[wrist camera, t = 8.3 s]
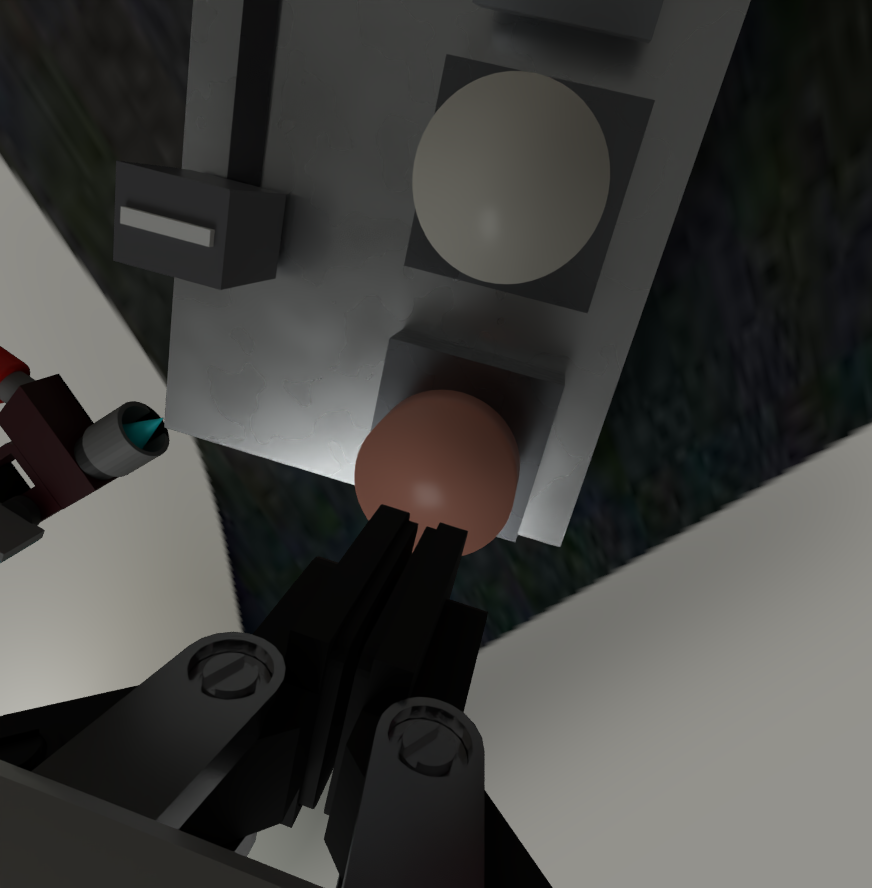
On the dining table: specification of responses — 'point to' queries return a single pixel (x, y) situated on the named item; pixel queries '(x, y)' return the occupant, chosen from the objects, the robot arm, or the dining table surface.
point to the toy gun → (61, 450)
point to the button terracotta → (441, 465)
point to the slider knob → (196, 225)
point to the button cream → (511, 177)
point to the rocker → (589, 14)
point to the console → (402, 238)
